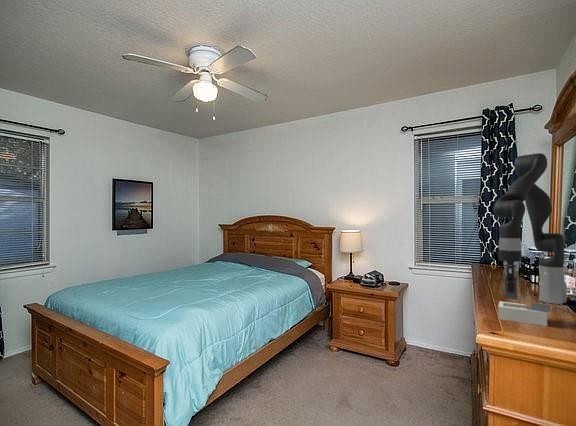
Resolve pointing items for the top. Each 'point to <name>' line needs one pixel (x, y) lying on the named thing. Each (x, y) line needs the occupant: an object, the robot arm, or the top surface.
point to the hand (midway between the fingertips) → (511, 291)
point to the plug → (514, 295)
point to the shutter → (536, 305)
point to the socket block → (521, 314)
